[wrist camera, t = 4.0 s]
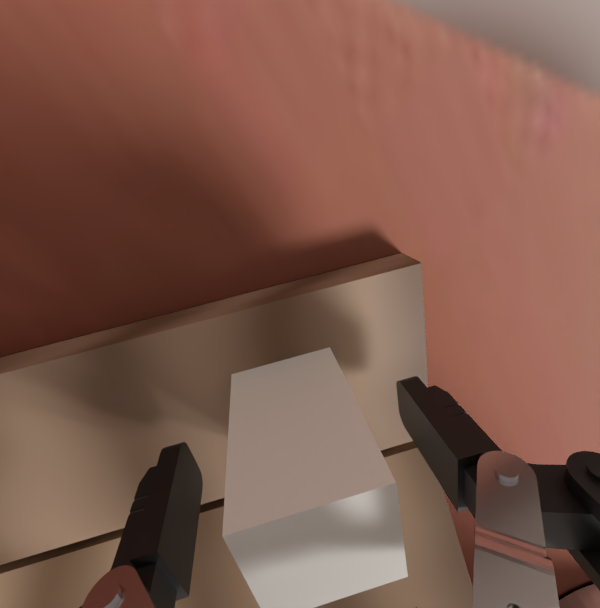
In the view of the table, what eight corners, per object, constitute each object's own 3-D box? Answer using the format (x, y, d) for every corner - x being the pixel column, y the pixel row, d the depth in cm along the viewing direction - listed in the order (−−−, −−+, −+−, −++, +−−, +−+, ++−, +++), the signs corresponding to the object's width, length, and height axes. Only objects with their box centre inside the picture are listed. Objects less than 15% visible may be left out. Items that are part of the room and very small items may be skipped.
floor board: (402, 252, 13) (421, 262, 12) (415, 425, 17) (431, 448, 16) (-211, 412, 12) (-274, 446, 10) (-37, 559, 16) (-65, 599, 14)
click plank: (417, 434, 18) (429, 443, 16) (467, 605, 17) (486, 633, 15) (-31, 568, 16) (-67, 594, 14) (-1, 764, 15) (-35, 814, 14)
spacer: (330, 347, 13) (395, 482, 7) (344, 420, 14) (408, 577, 9) (231, 374, 12) (222, 536, 7) (258, 446, 14) (268, 622, 9)
